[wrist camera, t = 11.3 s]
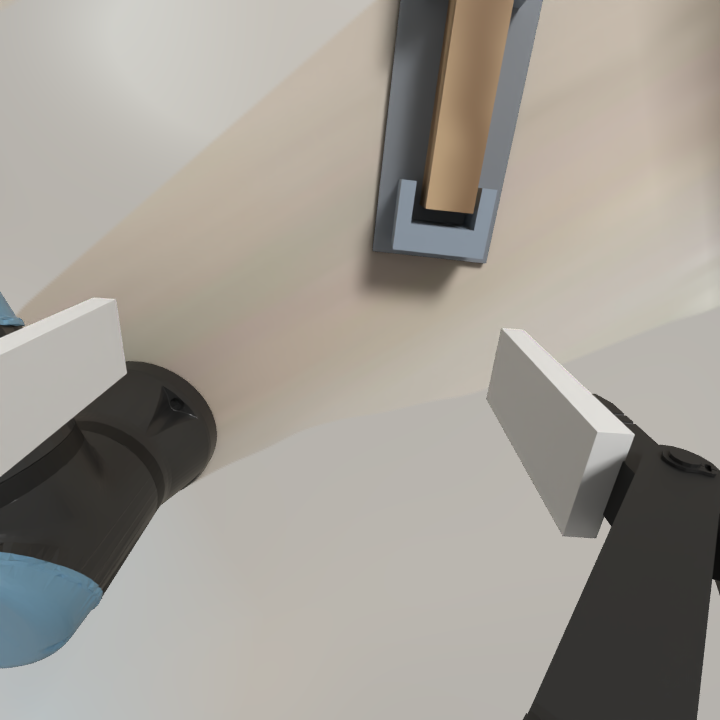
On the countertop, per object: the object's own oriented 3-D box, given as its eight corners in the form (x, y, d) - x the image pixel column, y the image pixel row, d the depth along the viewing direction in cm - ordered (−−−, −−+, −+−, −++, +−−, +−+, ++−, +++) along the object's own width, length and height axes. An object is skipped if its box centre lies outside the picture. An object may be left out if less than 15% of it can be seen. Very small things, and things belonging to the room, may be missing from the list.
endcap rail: (372, 249, 38) (371, 260, 34) (413, -114, 29) (420, -169, 24) (484, 262, 38) (499, 274, 34) (561, -97, 29) (596, -149, 24)
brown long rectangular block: (419, 204, 36) (425, 208, 32) (454, -40, 30) (468, -79, 25) (461, 208, 36) (473, 213, 32) (504, -35, 30) (527, -73, 25)
